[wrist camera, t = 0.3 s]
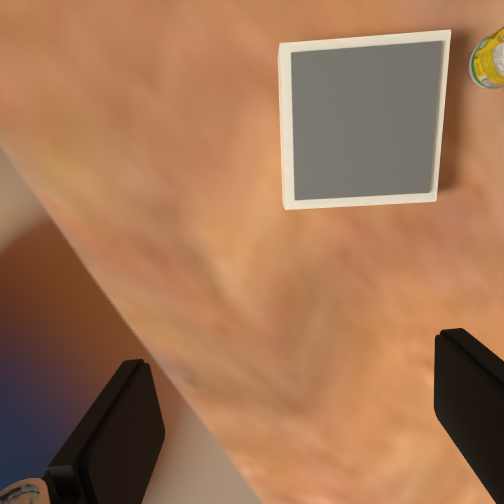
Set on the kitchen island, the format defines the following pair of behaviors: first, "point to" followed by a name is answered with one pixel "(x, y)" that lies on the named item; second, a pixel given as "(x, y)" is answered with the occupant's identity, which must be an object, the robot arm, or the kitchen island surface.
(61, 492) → the robot arm
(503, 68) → the supplement bottle
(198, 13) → the kitchen island surface
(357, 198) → the plate
